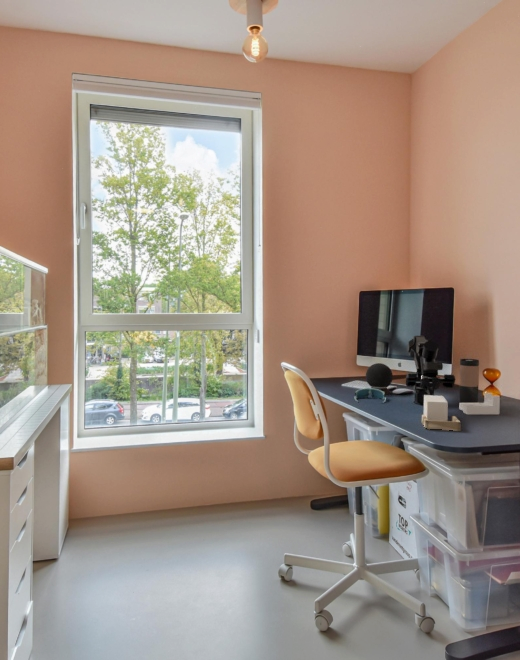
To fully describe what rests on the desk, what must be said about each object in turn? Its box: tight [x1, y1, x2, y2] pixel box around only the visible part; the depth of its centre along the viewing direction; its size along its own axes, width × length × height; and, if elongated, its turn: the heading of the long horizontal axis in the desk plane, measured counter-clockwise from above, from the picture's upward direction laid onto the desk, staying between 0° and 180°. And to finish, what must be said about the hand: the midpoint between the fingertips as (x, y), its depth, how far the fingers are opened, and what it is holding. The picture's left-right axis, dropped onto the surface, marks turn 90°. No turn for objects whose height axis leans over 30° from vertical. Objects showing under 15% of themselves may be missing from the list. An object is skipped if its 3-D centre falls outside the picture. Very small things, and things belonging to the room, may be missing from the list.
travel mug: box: [458, 358, 480, 403], centre depth 206 cm, size 8×8×20 cm
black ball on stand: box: [365, 362, 394, 395], centre depth 236 cm, size 13×13×15 cm
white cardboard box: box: [423, 394, 449, 421], centre depth 179 cm, size 14×7×8 cm, turn 166°
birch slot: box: [421, 414, 462, 432], centre depth 167 cm, size 10×12×3 cm
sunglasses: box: [354, 387, 387, 404], centre depth 216 cm, size 14×15×5 cm
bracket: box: [458, 392, 501, 415], centre depth 191 cm, size 13×7×8 cm, turn 91°
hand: (431, 397), depth 187 cm, fingers closed
